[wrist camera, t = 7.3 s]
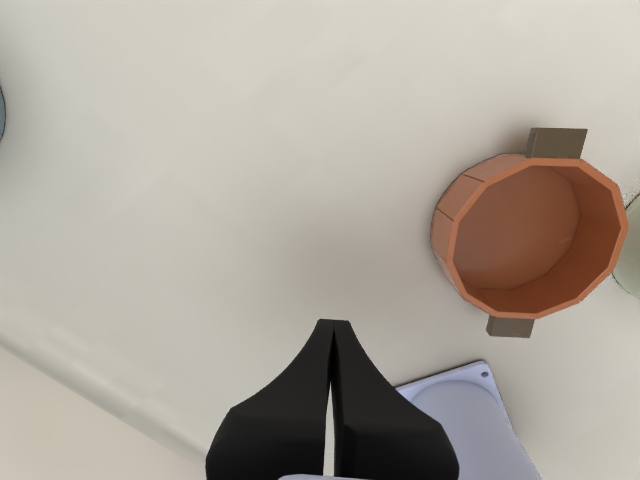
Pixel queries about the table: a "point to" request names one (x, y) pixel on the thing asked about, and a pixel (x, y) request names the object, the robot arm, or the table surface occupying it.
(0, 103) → the grey cylinder
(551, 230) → the pan
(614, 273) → the can
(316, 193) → the table surface
